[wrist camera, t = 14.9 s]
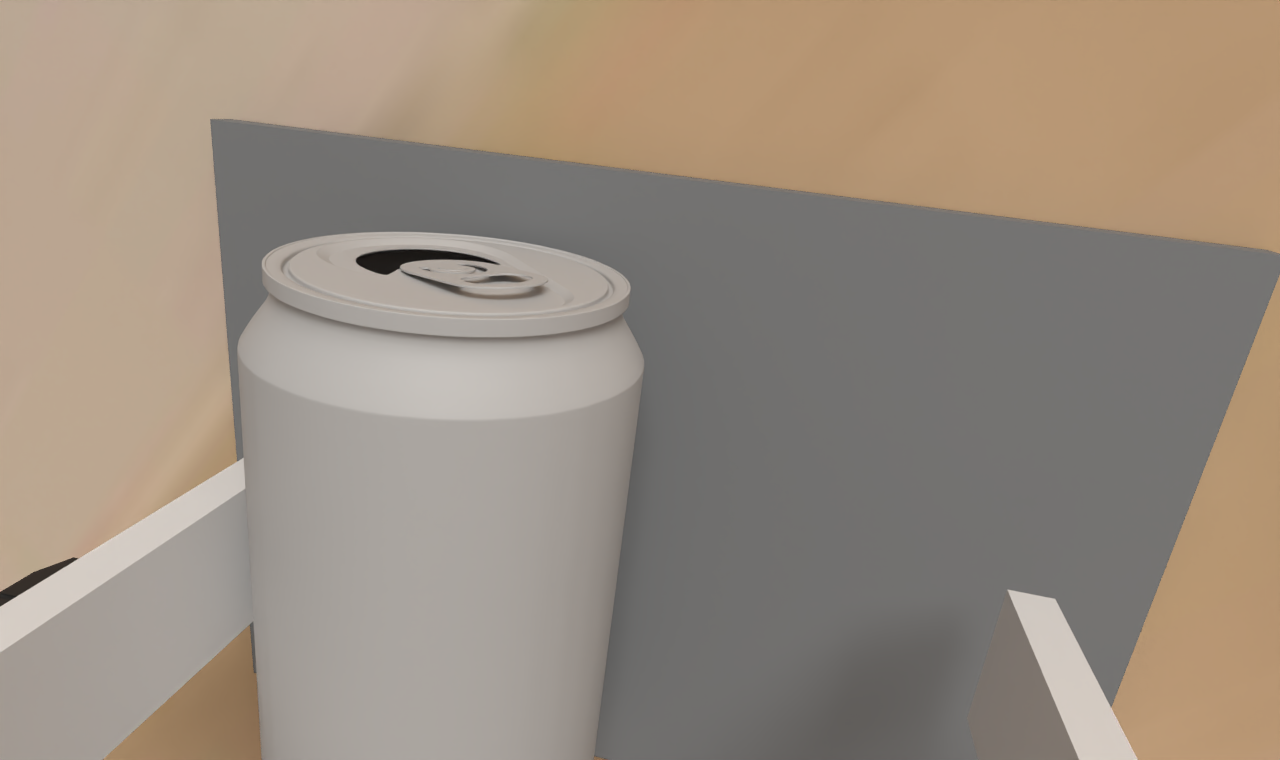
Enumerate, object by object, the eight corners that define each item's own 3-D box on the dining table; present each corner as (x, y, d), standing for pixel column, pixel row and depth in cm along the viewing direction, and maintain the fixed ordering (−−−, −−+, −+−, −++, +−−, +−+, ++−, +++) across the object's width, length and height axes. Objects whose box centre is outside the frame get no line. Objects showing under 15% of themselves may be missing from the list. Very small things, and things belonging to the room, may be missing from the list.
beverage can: (469, 670, 21) (492, 216, 17) (647, 829, 17) (734, 289, 13) (214, 807, 16) (161, 228, 12) (378, 1068, 12) (381, 345, 8)
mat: (268, 657, 21) (253, 672, 21) (230, 119, 17) (210, 119, 16) (1041, 844, 18) (1048, 867, 18) (1266, 250, 14) (1286, 256, 13)
